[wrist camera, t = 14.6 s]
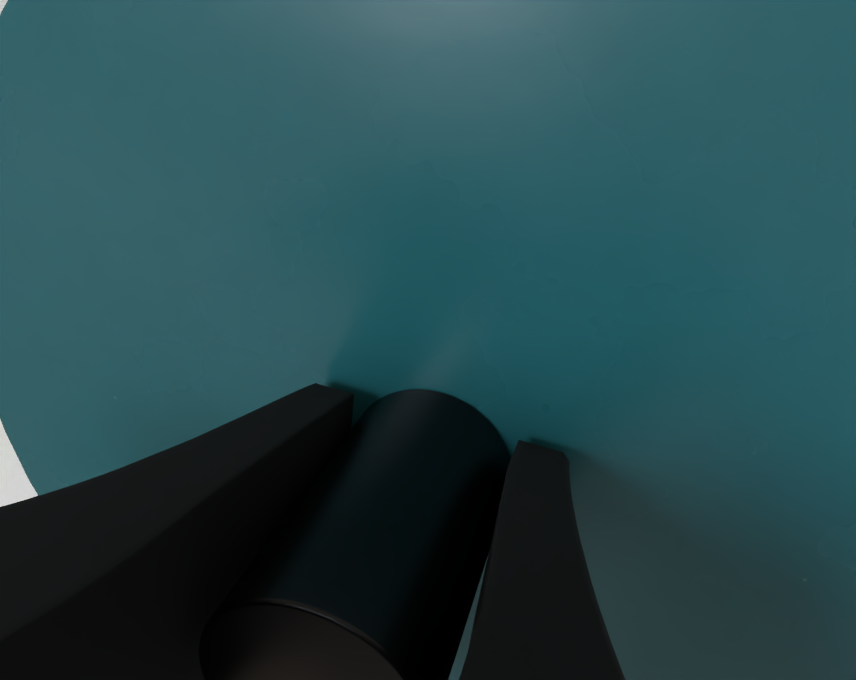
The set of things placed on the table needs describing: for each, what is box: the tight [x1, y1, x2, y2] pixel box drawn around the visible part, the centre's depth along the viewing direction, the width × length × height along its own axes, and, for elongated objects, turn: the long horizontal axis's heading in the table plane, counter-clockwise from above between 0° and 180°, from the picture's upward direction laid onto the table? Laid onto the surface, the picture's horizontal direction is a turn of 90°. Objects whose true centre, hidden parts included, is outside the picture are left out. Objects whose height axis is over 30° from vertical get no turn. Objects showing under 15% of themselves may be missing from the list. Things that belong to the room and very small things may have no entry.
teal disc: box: [0, 0, 856, 680], centre depth 9 cm, size 17×17×5 cm
